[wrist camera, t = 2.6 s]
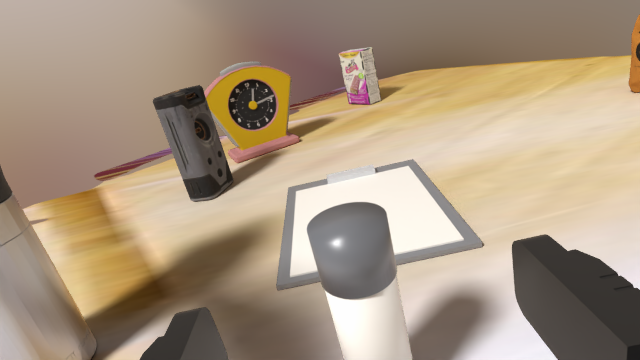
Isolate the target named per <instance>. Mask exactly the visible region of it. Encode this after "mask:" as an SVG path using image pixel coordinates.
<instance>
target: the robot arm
mask: <svg viewBox="0 0 640 360" xmlns="http://www.w3.org/2000/svg"><path fill="white" fill-rule="evenodd" d="M512 258H513V271H514V285H515V294H516V299H517V302H518V304H519V307H520V309H521V311H522V313H523V315H524V316H525V318H526V319H527V320H528V322H529V323H530V324H531V325H532V327H533V328H534V329H535V331H536V332H537V333H538V334H539V336H540V337H541V338H542V340H543V341H544V342H545V344H546V345H547V346H548V347H549V349H550V350H551V351H552V353H553V354H554V355H555V356H556V358H557V359H558V360H640V290H639V289H638V288H634V287H633V284H631V283H630V282H629V281H627V280H626V279H625V278H623V277H622V276H618V274H617V272H615V271H614V270H613V269H612V268H610V267H609V266H608V265H606V264H605V263H604V262H602V261H601V260H600V259H598V258H595V257H593V256H590V255H588V254H585V253H583V252H581V251H578V250H576V249H575V250H570V251H567V250H566V249H564V248H563V247H562V246H561V245H560V244H558V243H557V242H556V241H555V240H554V239H552V238H551V237H550V236H548V235H540V236H535V237H531V238H526V239H521V240H517V241H514V242H513V244H512ZM96 346H97V344H96V339H95V338H94V336H93V334H92V332H91V330H90V329H89V327H88V325H87V323H86V321H85V320H84V318H83V316H82V314H81V312H80V311H79V309H78V307H77V305H76V303H75V301H74V300H73V298H72V296H71V294H70V293H69V291H68V289H67V287H66V286H65V284H64V282H63V280H62V278H61V277H60V275H59V273H58V271H57V270H56V268H55V266H54V264H53V262H52V261H51V259H50V257H49V255H48V254H47V252H46V250H45V248H44V247H43V245H42V243H41V241H40V239H39V238H38V236H37V234H36V232H35V231H34V229H33V227H32V225H31V224H30V222H29V220H28V219H27V217H26V215H25V213H24V211H23V210H22V208H21V206H20V204H19V203H18V201H17V199H16V197H15V196H14V194H13V193H12V191H11V189H10V187H9V185H8V183H7V181H6V179H5V177H4V175H3V172H2V169H1V166H0V360H91V358H92V356H93V355H94V353H95V350H96ZM140 360H228V357H227V352H226V350H225V347H224V345H223V342H222V340H221V337H220V335H219V333H218V330H217V328H216V325H215V323H214V320H213V318H212V316H211V313H210V311H209V310H208V309H207V308H206V307H203V308H198V309H193V310H189V311H184V312H180V313H176V314H175V315H174V317H173V319H172V321H171V323H170V325H169V327H168V329H167V331H166V333H165V335H164V336H162V337H158V338H157V339H156V340H155V341H154V342H153V344H152V345H151V346H150V347H149V348H148V349H147V350H146V351H145V352H144V353H143V354H142V356H141V358H140Z"/></svg>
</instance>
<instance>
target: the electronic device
mask: <svg viewBox="0 0 640 360" xmlns="http://www.w3.org/2000/svg"><path fill="white" fill-rule="evenodd" d="M153 103H154V106H155V109H156V111H157V114H158V116H159V119H160V121H161V124H162V127H163V129H164V132H165V135H166V137H167V140H168V142H169V145H170V148H171V150H172V153H173V155H174V158H175V160H176V163H177V166H178V168H179V171H180V173H181V176H182V178H183V181H184V184H185V186H186V189H187V192H188V194H189V197H190V199H191V200H192V201H205V200H211V199H214V198H216V197H217V196H218V195H219V194H220V193H222V192H223V191H224V190H225V189H226V188H227V187H228V186H229V185H230V184H232V182H233V177H232V174H231V171H230V168H229V165H228V162H227V160H226V157H225V154H224V151H223V148H222V145H221V142H220V139H219V136H218V133H217V130H216V127H215V124H214V121H213V118H212V115H211V112H210V109H209V106H208V103H207V100H206V97H205V94H204V91H203V88H202V87H201V86H200V85H198V86H194V87H189V88H185V89H180V90H177V91H174V92H171V93H168V94H166V95H163V96H160V97H157V98H154V100H153Z"/></svg>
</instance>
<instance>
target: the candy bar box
mask: <svg viewBox="0 0 640 360" xmlns="http://www.w3.org/2000/svg"><path fill="white" fill-rule="evenodd" d="M339 58H340V63H341V68H342V72H343V77H344V82H345V87H346V92H347V96H348V102H349V104H366V105H371V104H374V103H377V102H379V101H381V96H380V90H379V85H378V79H377V74H376V68H375V62H374V56H373V51H372V47H370V48H362V49H354V50H348V51H345V52H341V53H339Z"/></svg>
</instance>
